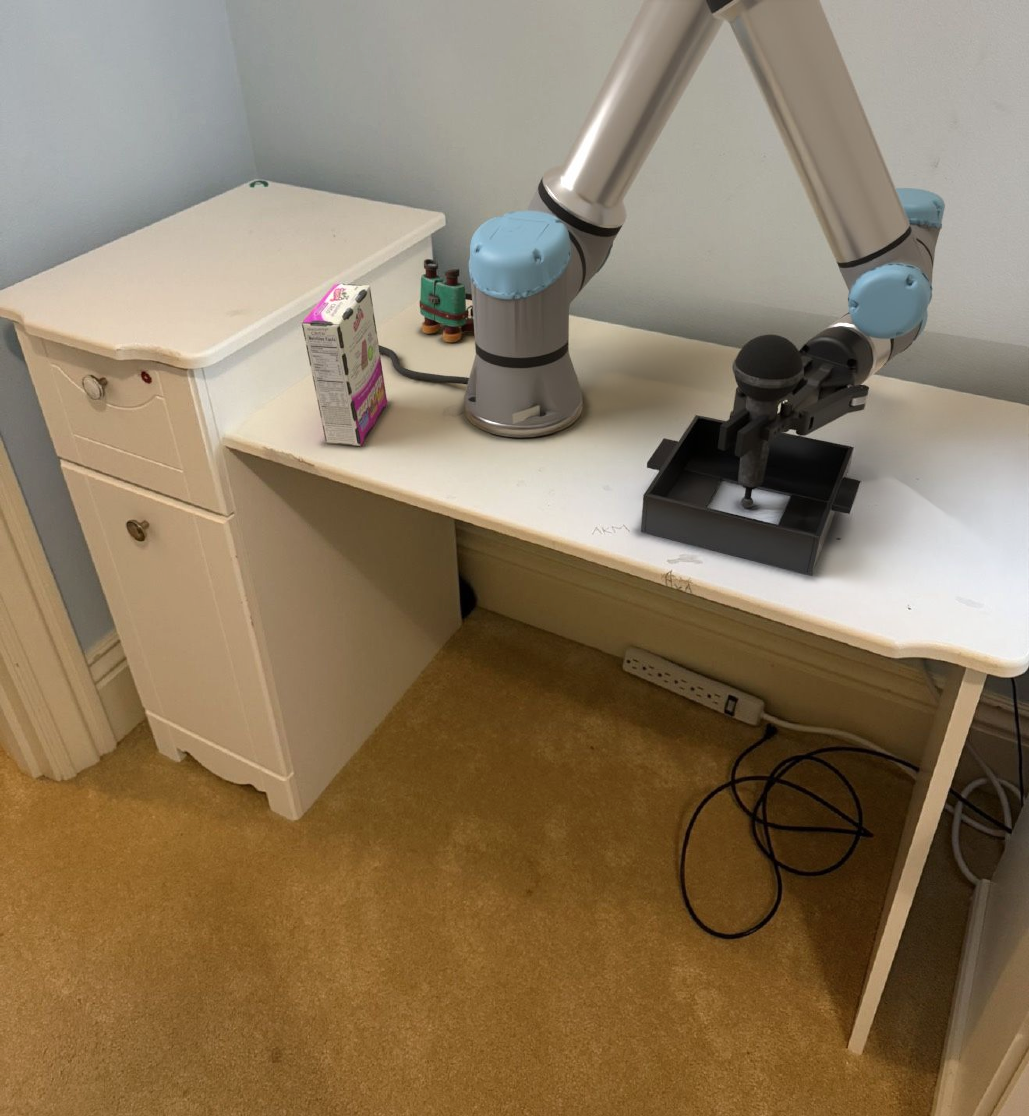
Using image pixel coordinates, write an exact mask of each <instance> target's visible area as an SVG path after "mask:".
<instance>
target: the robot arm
mask: <svg viewBox="0 0 1029 1116" xmlns="http://www.w3.org/2000/svg"><path fill="white" fill-rule="evenodd" d="M639 7H640V8H639V10H638V11H637V14H636V16H635V17H634V19H633V22H632V24H631V25H630V28H629V30H628V32H627V34H626V35H625V38H624V40H623V41H622V44H621V46H620V48H619V50H618V51H617V53H616V56H615V58H614V60H613V62H612V64H611V66H610V68H609V69H608V72H607V74H606V76H605V78H604V80H603V82H602V83H601V86H600V88H599V90H598V92H597V94H596V96H595V97H594V99H593V102H592V103H591V106H590V108H589V110H588V112H587V114H586V116H585V118H584V120H583V122H582V124H581V126H580V128H579V130H578V132H577V135H576V137H575V138H574V140H573V142H572V144H571V146H570V147H569V150H568V152H567V154H566V156H565V159H564V160H563V162H562V164H561V165H560V164H559V165H557V166H552V167H550V168H547V169H546V170H545V172H544V173H543V175H542V177H541V179H540V181H539V183H538V185H537V188H536V189H535V192H534V193H533V195H532V196H531V197H532V198H531V200H530V201H529V204H528V206H527V208H526V210H517V211H511V212H507V213H504V214H503V216H494V217H492V218H490V219H488V220H487V221H485V222H483V223H482V224H481V225H480V226H479V227H478V228H477V229H476V230H475V232H474V233H473V235H472V236H471V237H472V238H471V241H470V245H469V260H468V273H469V277H470V289H471V290H470V291H471V294H472V301H471V303H472V306H473V319H474V331H473V332H474V334H473V335H474V346H475V347H474V349H475V350H474V351H475V356H474V360H473V364H472V367H471V370H470V374H469V377H468V376H466V377H465V376H457V375H443V374H435V373H429V372H421V371H415V370H412V369H408V368H405V367H404V366H402V365H401V364H400V360H399V357H398V355H397V353H396V352H395V351H394V350H393V349H391V348H388V347H386V346H383V345H380V344H378V345H379V351H380V354H382V355H385V356H386V357H387V356H388V357H389V358H390V360H391V365H392V367H393V368H394V370H395V371H396V372H397V373H398V374H400V375H403V376H405V377H408V378H410V379H411V378H412V379H416V380H421V381H427V382H429V381H430V382H436V383H445V384H458V385H466V387H465V388H466V389H465V392H464V395H463V400H464V401H463V402H464V413H465V416H466V418H467V419H468V421H469V422H470V423H471V424H472V425H473V426H474V427H476V428H478V429H479V430H481V431H484V432H487V433H489V434H493V435H495V436H502V437H507V438H534V437H540V436H541V437H542V436H546V435H551V434H553V433H557V432H559V431H561V430H564V429H566V428H567V427H569V426H571V425H572V424H574V423H575V422H576V421H577V420H578V419H579V418H580V416H581V413H582V411H583V390H582V387H581V384H580V382H579V378H578V376H577V373H576V370H575V367H574V364H573V360H572V358H571V355H570V347H569V345H570V342H569V340H570V306H571V304H572V302H573V301H574V300H575V299H576V297H577V296H578V295H579V294H580V292H581V291H583V289H584V288H585V287H586V286H587V284H588V283H589V282H590V281H591V279H592V278H593V277H594V276H595V275H596V274H598V273H599V272H600V271H601V270H602V269H603V267H604V266H605V264H606V262H607V261H608V259H609V257H610V255H611V252H612V248H613V245H614V241H615V240H616V238H617V236H618V234H619V232H620V231H621V229H622V227H624V226H623V225H624V224H625V222H626V219H627V210H626V206H625V204H624V199H625V197H627V195H628V192H629V190H630V188H631V187H632V185H633V184H634V182H635V180H636V178H637V176H638V174H639V173H640V170H641V169H642V167H643V166H644V164H645V162H646V160H647V159H648V157H649V155H650V153H651V152H652V150H653V148H654V146H655V144H656V143H657V141H658V140H659V138H660V135H661V134H662V132H663V130H664V129H665V127H666V125H667V123H668V121H669V120H670V118H671V116H672V114H673V112H674V111H675V109H676V107H677V106H678V104H679V103H680V100H681V98H682V96H683V95H684V93H685V91H686V89H687V88H688V86H689V84H690V82H691V81H692V79H693V77H694V75H695V74H696V72H697V70H698V68H699V67H700V65H701V63H702V61H703V59H704V58H705V56H706V54H707V53H708V50H709V49H710V47H711V45H712V43H713V41H714V40H715V38H716V36H717V35H718V33H719V31H720V29H721V27H722V26H723V24H724V22H727V23H728V24H729V26H730V28H731V30H732V33H733V34H734V36H735V39H736V41H737V43H738V45H739V48H740V50H741V52H742V55H743V57H744V59H745V61H746V63H747V66H748V68H749V70H750V72H751V74H752V77H753V79H754V81H755V84H756V85H757V88H758V90H759V92H760V95H761V97H762V99H763V101H764V104H765V105H766V108H767V110H768V113H769V115H770V116H771V119H772V121H773V124H774V126H775V127H776V130H777V132H778V135H779V137H780V139H781V141H782V143H783V146H784V148H785V150H786V152H787V155H788V157H789V159H790V161H791V164H792V166H793V168H794V170H795V172H796V175H797V177H798V179H799V181H800V183H801V186H802V189H803V190H804V193H805V194H806V197H807V199H808V202H809V204H810V206H811V208H812V210H813V213H814V215H815V217H816V219H817V221H818V224H819V226H820V228H821V230H822V233H823V235H824V237H825V239H826V241H827V243H828V246H829V248H830V250H831V253H832V255H833V257H834V259H835V262H836V264H837V266H838V269H839V272H840V274H841V277H842V279H843V281H844V283H845V286H846V288H847V290H848V295H847V307H848V312H847V313H845V314H844V315H842V316H841V317H840V318H839V319H837V320H836V321H835V322H833V323H831V324H830V325H828V326H827V327H825V328H823V330H821V331H820V332H819V333H817V334H816V335H814V336H812V337H811V338H810V339H809V340H807V341H806V342H805V343H804V344H803V345H802V346H801V348H800V349H798V351H799V353H800V355H801V358H802V364H803V367H804V374H803V376H802V378H801V380H800V381H799V382H798V384H797V386H796V387H795V389H794V390H793V391H792V392H791V393H790V394H788V395H787V396H785V397H784V398H782V399H780V401H779V405H780V407H779V409H778V410H777V415H776V417H775V418H774V419H773V420H770V421H769V416H770V415H766V416H764V415H759V416H758V417H757V418H755V419H754V420H753V421H751V422H750V423H749V424H748V417H749V411H748V410H747V409H746V401H747V395H745V394H744V393H743V392H742V391H741V389H740V388H739V387H738V386H737V387H736V388H735V393H734V401H733V406H732V407H733V408H732V410H731V411H730V412H729V417H728V419H727V420H725V421H726V422H724V423H723V424H722V425H721V427H720V435H719V443H718V449H720V450H723V451H725V450H726V449H728V448H729V447H730V446H731V445H733V444H734V443H735V442H736V448H735V455H736V456H738V457H743V456H744V455H745V454H746V453H748V452H749V451H750V450H751V449H753V448H754V447H755V446H757V445H758V444H759V443H760V442H762V441H763V440H765V441H772V440H773V439H775V438H776V437H777V436H778V435H780V434H781V433H782V432H783V433H787V432H789V431H791V430H792V431H795V435H797V436H802V437H806V436H807V435H809V434H811V433H813V432H815V431H817V430H819V429H820V428H822V427H825V426H826V425H828V424H830V423H832V422H834V421H836V420H837V419H839V418H841V417H843V416H845V415H847V414H850V413H855V412H860V411H864V410H865V407H866V402H867V398H868V394H869V390H870V387H869V386H868V385H866V384H864V382H866V381H867V380H869V379H870V377H872V376H873V375H874V374H876V373H877V372H878V371H879V370H881V369H882V368H883V367H884V366H885V365H886V364H887V363H888V362H890V361H891V360H893V359H894V358H895V357H896V356H897V355H899V354H902V353H903V352H905V351H906V350H907V349H909V347H910V346H912V345H913V343H914V342H915V341H916V340H917V339H918V337H920V335H921V334H922V333H923V331H924V329H925V328H926V326H927V323H928V317H929V316H928V315H929V313H928V308H929V306H930V303H931V301H932V299H933V290H934V289H933V273H934V271H933V270H934V263H935V254H936V247H937V242H938V239H939V235H940V232H941V229H942V228H943V218H944V213H945V210H946V209H945V208H946V204H945V200H944V199H943V197H941V196H940V195H939V194H937V193H935V192H933V191H930V190H925V189H920V188H913V187H896V186H895V183H894V181H893V178H892V176H891V173H890V171H889V169H888V166H887V163H886V161H885V159H884V157H883V154H882V151H881V149H880V146H879V144H878V142H877V139H876V136H875V134H874V131H873V130H872V127H871V124H870V121H869V120H868V116H867V114H866V112H865V109H864V107H863V104H862V101H861V99H860V97H859V95H858V92H857V89H856V86H855V85H854V82H853V79H852V77H851V75H850V72H849V70H848V67H847V64H846V62H845V60H844V57H843V55H842V52H841V49H840V47H839V44H838V43H837V40H836V37H835V35H834V32H833V30H832V28H831V26H830V22H829V20H828V18H827V15H826V13H825V10H824V8H823V5H822V3H821V1H820V0H643V2H642V3H641V5H640V6H639Z"/></svg>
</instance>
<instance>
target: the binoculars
mask: <svg viewBox="0 0 1029 1116" xmlns="http://www.w3.org/2000/svg"><path fill="white" fill-rule="evenodd" d="M438 269H439V263H438V262H437V261H436V260H434V259H431V258H426V259H424V260H423V270H425V273H424V274H421V277H420V299H419V313H420V315H421V316H423V317H424V321H423V322H422V324H421V331H422V333H424V334H430V335H431V334H435V333H437V332H438V331H440V330H441V328H442V325H444V326H445V329H444V330H442V340H443V341H444V342H446V343H454V342H457V341H459V340H461V338H462V333H466V332H474V319H473V305H471V304H470V305H469V306H468V307H467V301H471V302H472V293H468V292H466V287H465V284H464V283H462V282H459V280H458V279H459V277H460V268H453V269H449V270H445V271H444V276H445V279H446V280H444V279H443V277H442V276H440V275H438V274H437V272H438V271H437V270H438ZM469 309H470V310H469ZM469 312H470V313H469ZM469 315H470V317H469Z"/></svg>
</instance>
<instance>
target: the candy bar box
mask: <svg viewBox="0 0 1029 1116" xmlns="http://www.w3.org/2000/svg"><path fill="white" fill-rule="evenodd" d="M371 292H372V291H371V285H368V284H366V285H364V284H352V283H351V284H349V283H347V284H345V283H334V284H333V285H332V286H331V288H330V289H329V290H328V291H327V292H326V293H325V294H324V296H323V297H322V298H321V299H320V300H319V301H318V303H317V304H316V305H315V306H314V307H313V308H312V309H311V310H310V312H309V313H308V314H307V315H306V317H304V318H303V320H302V321H301V322H300V323H301V327H302V332H303V337H304V341H305V342H304V343H305V346H306V353H307V357H308V363H309V367H310V371H311V372H310V373H311V376H312V380H313V385H314V391H315V397H316V400H317V401H316V402H317V405H318V410H319V411H318V412H319V415H320V420H321V425H322V431H323V436H324V440H325V443H326V444H329V445H339V446H341V445H342V446H351V447H361V446H362V445H363V443H364V442H365V440H366V439H367V437H368V435H369V434H370V433H371V430H372V429H373V427H374V425H375V424H376V422H377V420H378V419H379V417H380V416H381V414H382V412H383V411H384V409H385V407H386V406H387V405H388V399H387V392H386V386H385V377H384V372H383V365H382V360H381V359H382V357H381V353H380V351H379V345H380V344H379V337H378V331H377V325H376V318H375V317H376V316H375V311H374V304H373V298H372V297H373V296H372V293H371Z"/></svg>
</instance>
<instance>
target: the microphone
mask: <svg viewBox="0 0 1029 1116" xmlns="http://www.w3.org/2000/svg"><path fill="white" fill-rule="evenodd" d="M731 367H732V372H733V376H734V379H735V383H736V385H737V387H739V388H740V389H741V391H742V392H743V393H744V394H745V395H747V401H746V409H747V410H748V411H749V417H748V424H749V423H750V422H751V421H753V420H754V419H755V418H757V417H758V416H759V415H764V416H766V415H770V416H769V421H770V420H773V419H774V418H775V417H776V415H777V414H778V413H777V410H778V411H779V405H780V404H779V401H780V399H782V398H784V397H785V396H787V395H788V394H790V393H791V392H792V391H793V390H794V389H795V387H796V386H797V384H798V382H799V381H800V380H801V378H802V376H803V374H804V367H803V364H802V358H801V355H800V353H799V349H798V348H797V346H796V345H795V344H794V343H793V342H792V341H791V340H789V339H788V338H786V337H784V336H782V335H778V334H772V333H771V334H762V335H759V336H756V337H754V338H752V339H750V340H749V341H747V343H745V344H744V345H743V346H742V347H741V349H740V350H739V352H738V353H737V355H736V357H735V359H734V360H733V363H732V366H731ZM770 444H771V441H765V440H763V441H762V442H760V443H759V444H758V445H757V446H755V447H754V448H753V449H751V450H750V451H749V452H748V453H746V454H745V455H744V456H743V457H740V466H739V476H738V481H739V483H740V484H739V485H741V484H742V485H741V486H742V487H743V489H745V492H744V496H743V497H742V498H741V500H740V504H741V506H742V507H743V508H745V509H750V508H751V507H752V506H753V505H754V499H753V497H752V494H753V490H755V489H758V488H757V487H758V486H760V485H761V484H762V483H763V478H764V473H765V468H766V463H767V459H768V454H769V449H770Z"/></svg>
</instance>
